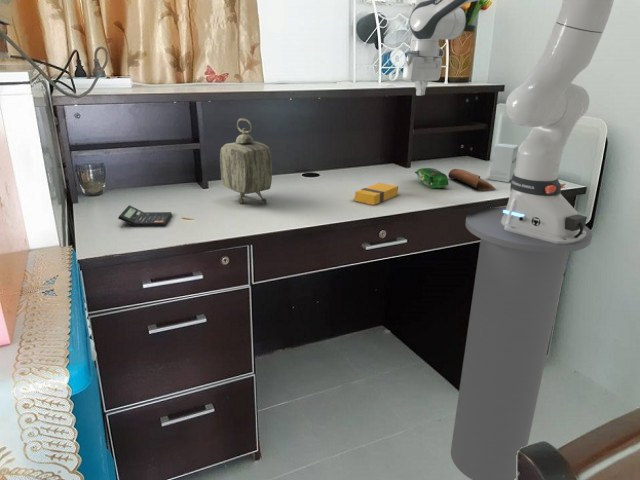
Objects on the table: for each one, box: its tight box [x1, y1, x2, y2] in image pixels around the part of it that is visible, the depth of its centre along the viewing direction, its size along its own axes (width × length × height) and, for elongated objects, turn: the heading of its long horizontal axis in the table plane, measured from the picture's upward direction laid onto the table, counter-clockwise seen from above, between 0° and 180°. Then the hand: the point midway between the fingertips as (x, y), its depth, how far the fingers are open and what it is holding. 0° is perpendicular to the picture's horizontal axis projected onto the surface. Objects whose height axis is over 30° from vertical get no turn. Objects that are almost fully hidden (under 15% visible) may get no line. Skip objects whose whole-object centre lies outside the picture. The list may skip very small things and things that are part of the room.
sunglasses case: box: [447, 168, 496, 192], centre depth 179 cm, size 18×7×7 cm, turn 19°
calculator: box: [117, 204, 173, 227], centre depth 136 cm, size 9×12×3 cm
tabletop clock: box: [219, 117, 273, 204], centre depth 150 cm, size 14×9×25 cm, turn 45°
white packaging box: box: [488, 143, 520, 183], centre depth 185 cm, size 7×7×13 cm
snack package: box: [414, 167, 449, 189], centre depth 177 cm, size 7×16×5 cm, turn 12°
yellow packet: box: [354, 182, 399, 206], centre depth 160 cm, size 3×7×15 cm
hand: (420, 95), depth 168 cm, fingers closed
